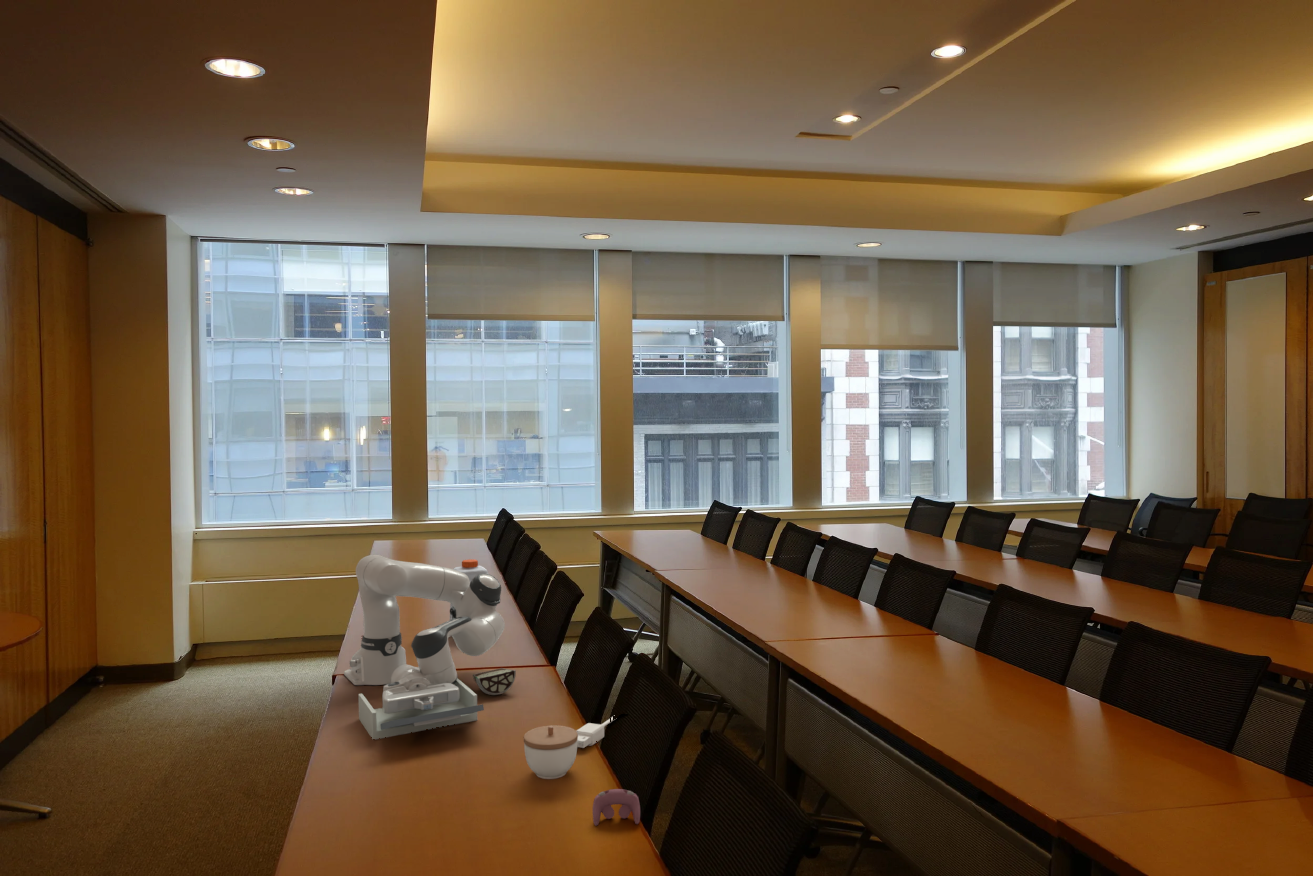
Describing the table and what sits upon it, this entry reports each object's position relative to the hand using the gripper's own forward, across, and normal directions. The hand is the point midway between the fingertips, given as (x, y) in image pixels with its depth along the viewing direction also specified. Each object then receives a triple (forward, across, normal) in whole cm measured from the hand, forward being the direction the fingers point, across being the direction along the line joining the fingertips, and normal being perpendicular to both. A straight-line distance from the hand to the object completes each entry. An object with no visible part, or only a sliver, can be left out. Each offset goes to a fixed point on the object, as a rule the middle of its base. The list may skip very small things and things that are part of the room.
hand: (427, 706), depth 232 cm
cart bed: (-13, 0, -8) cm, 15 cm away
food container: (-31, -26, -6) cm, 41 cm away
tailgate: (-4, -1, -5) cm, 6 cm away
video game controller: (+67, -22, -8) cm, 72 cm away
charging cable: (+19, -42, -8) cm, 47 cm away
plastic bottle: (-99, -40, -8) cm, 107 cm away
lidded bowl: (+39, -19, -8) cm, 44 cm away
